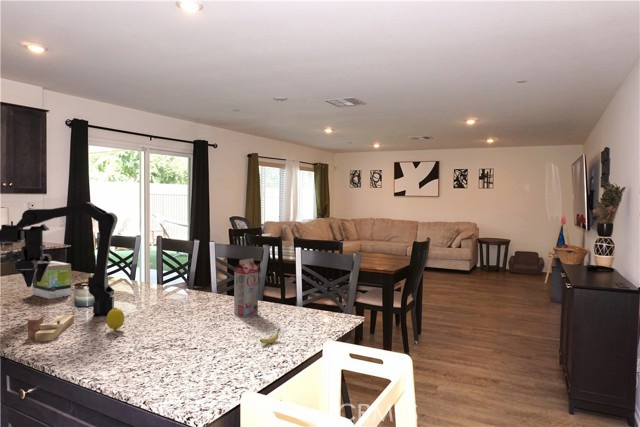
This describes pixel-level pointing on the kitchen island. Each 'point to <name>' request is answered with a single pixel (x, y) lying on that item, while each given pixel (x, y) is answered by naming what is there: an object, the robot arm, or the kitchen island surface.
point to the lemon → (115, 318)
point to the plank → (54, 332)
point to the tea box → (54, 281)
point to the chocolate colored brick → (40, 325)
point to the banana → (270, 340)
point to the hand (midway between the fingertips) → (34, 284)
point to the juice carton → (246, 288)
